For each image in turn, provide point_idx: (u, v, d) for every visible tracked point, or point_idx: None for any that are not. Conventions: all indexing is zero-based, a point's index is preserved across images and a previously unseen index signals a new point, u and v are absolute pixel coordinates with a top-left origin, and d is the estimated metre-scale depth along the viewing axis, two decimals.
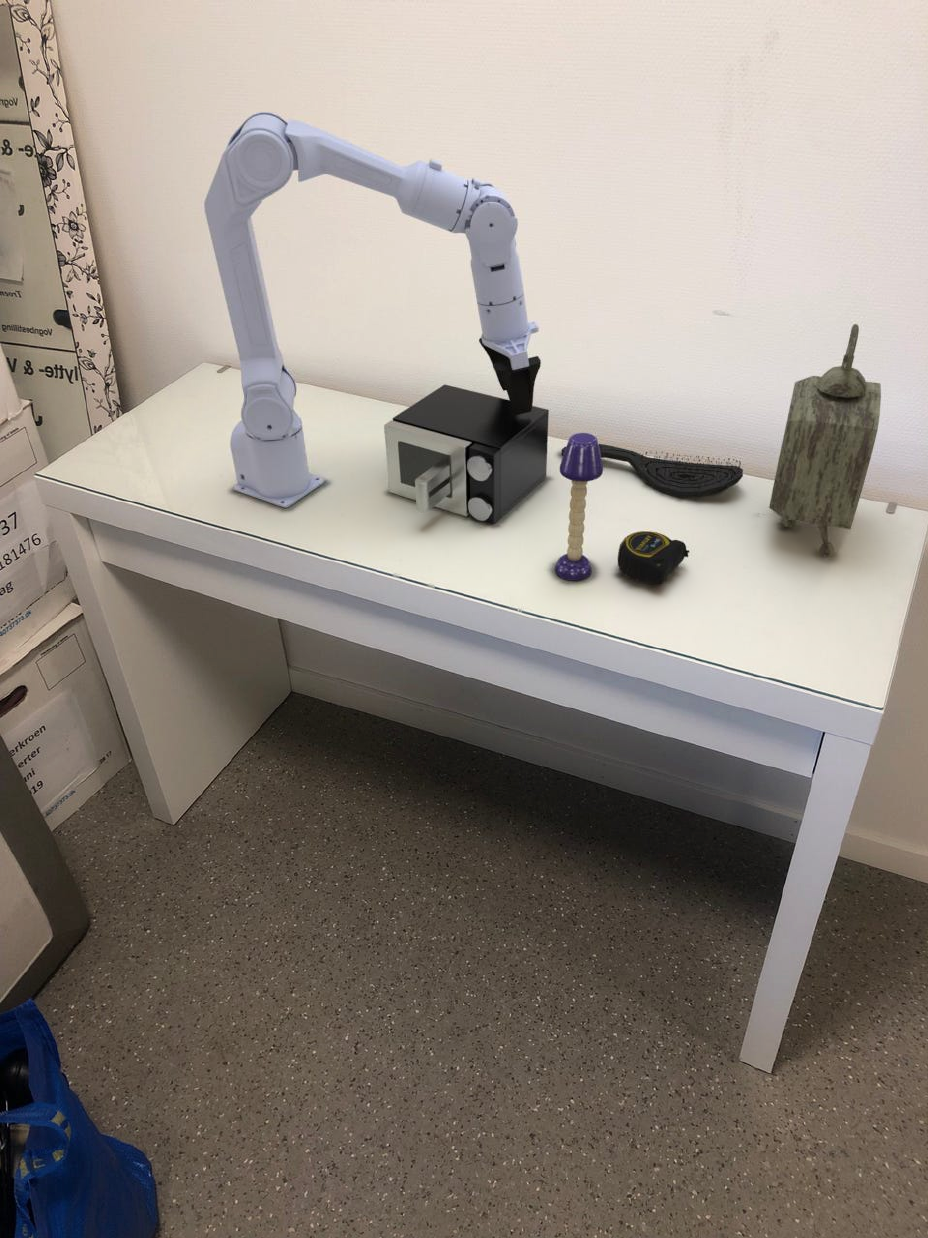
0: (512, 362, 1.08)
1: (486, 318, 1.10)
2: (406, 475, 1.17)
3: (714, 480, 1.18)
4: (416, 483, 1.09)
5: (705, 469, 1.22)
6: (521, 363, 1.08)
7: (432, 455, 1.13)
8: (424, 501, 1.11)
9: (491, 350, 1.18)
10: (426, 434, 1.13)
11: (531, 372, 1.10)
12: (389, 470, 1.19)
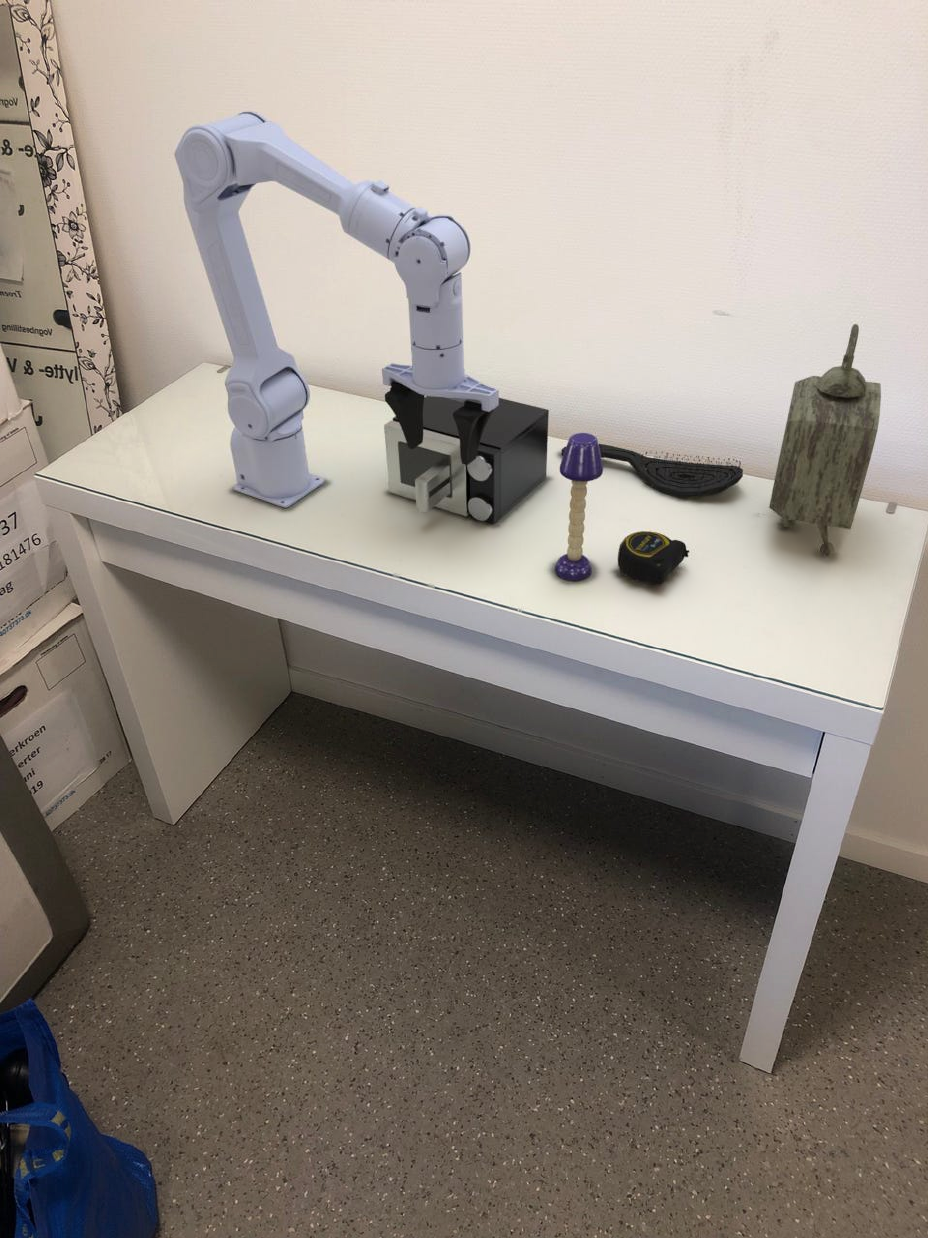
0: (489, 403, 0.99)
1: (438, 364, 0.98)
2: (406, 475, 1.17)
3: (714, 480, 1.18)
4: (416, 483, 1.09)
5: (705, 469, 1.22)
6: (494, 403, 1.00)
7: (432, 455, 1.13)
8: (424, 501, 1.11)
9: (405, 405, 1.05)
10: (426, 434, 1.13)
11: (488, 413, 1.03)
12: (389, 470, 1.19)
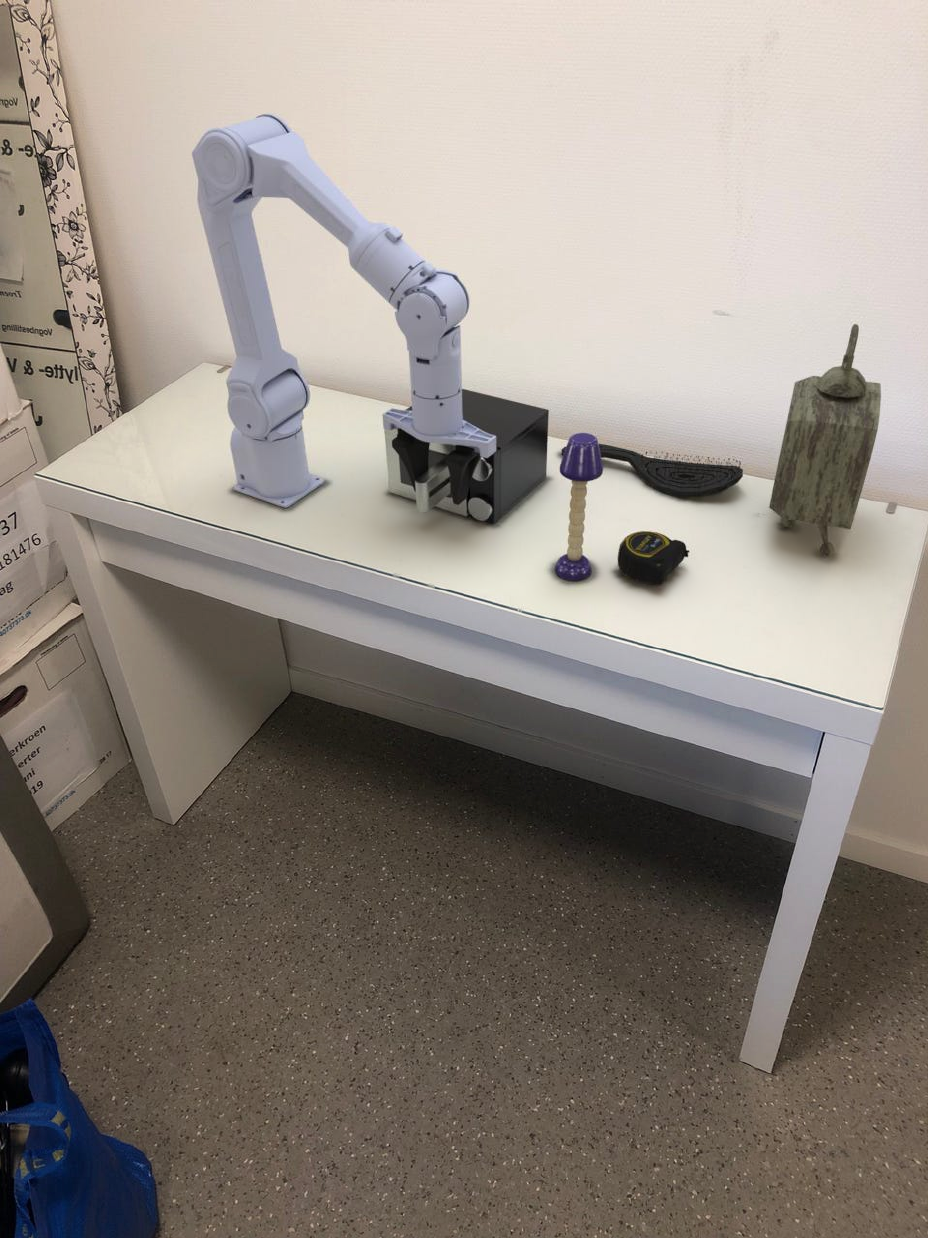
0: (487, 450, 1.02)
1: (438, 413, 1.01)
2: (406, 475, 1.17)
3: (714, 480, 1.18)
4: (416, 483, 1.09)
5: (705, 469, 1.22)
6: (492, 449, 1.03)
7: (432, 455, 1.13)
8: (424, 501, 1.11)
9: (411, 451, 1.07)
10: None
11: (479, 456, 1.06)
12: (389, 470, 1.19)
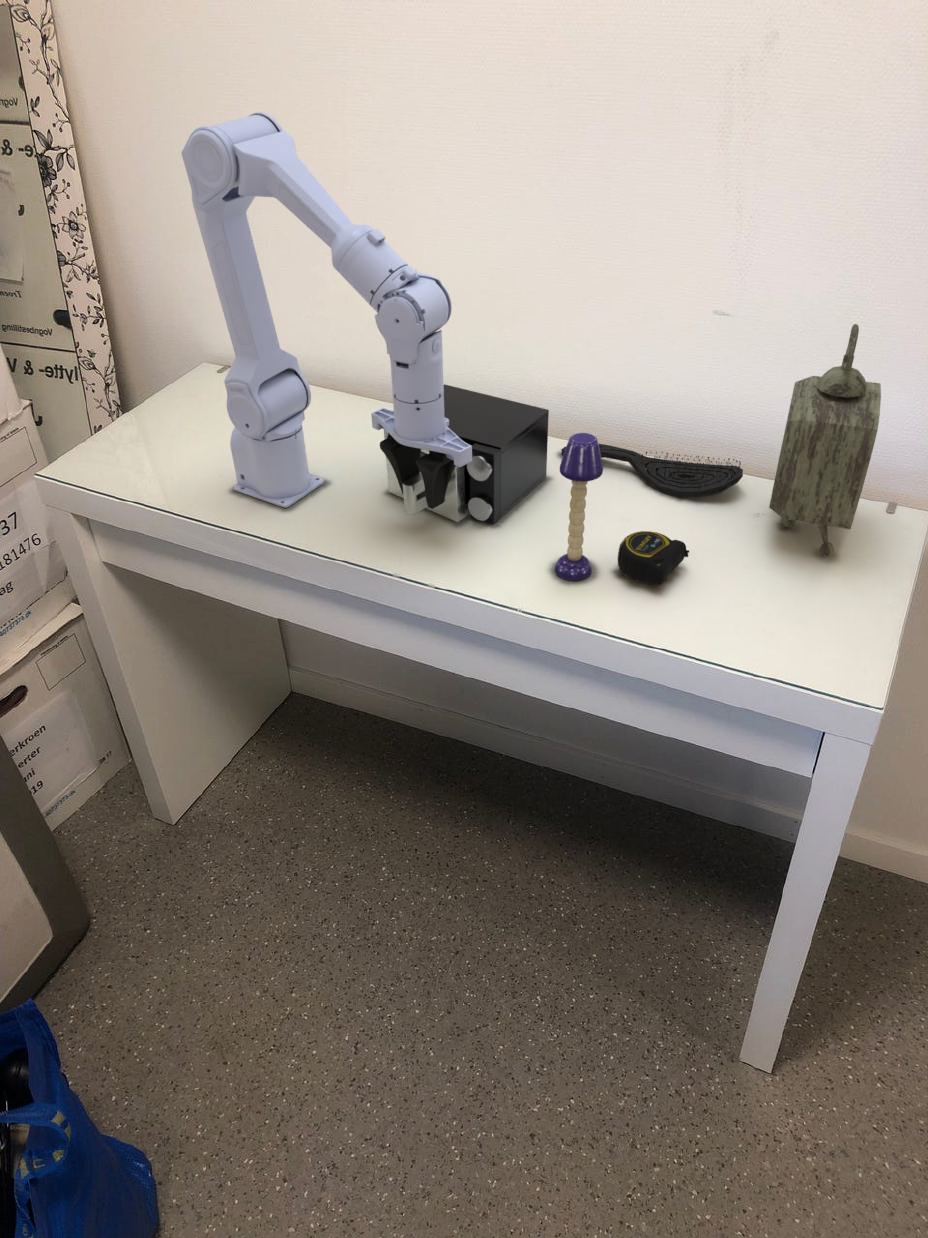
0: (460, 459, 1.01)
1: (414, 417, 1.01)
2: None
3: (714, 480, 1.18)
4: (403, 485, 1.09)
5: (705, 469, 1.22)
6: (466, 459, 1.02)
7: None
8: (411, 504, 1.10)
9: (398, 455, 1.07)
10: None
11: (454, 462, 1.06)
12: (388, 470, 1.19)
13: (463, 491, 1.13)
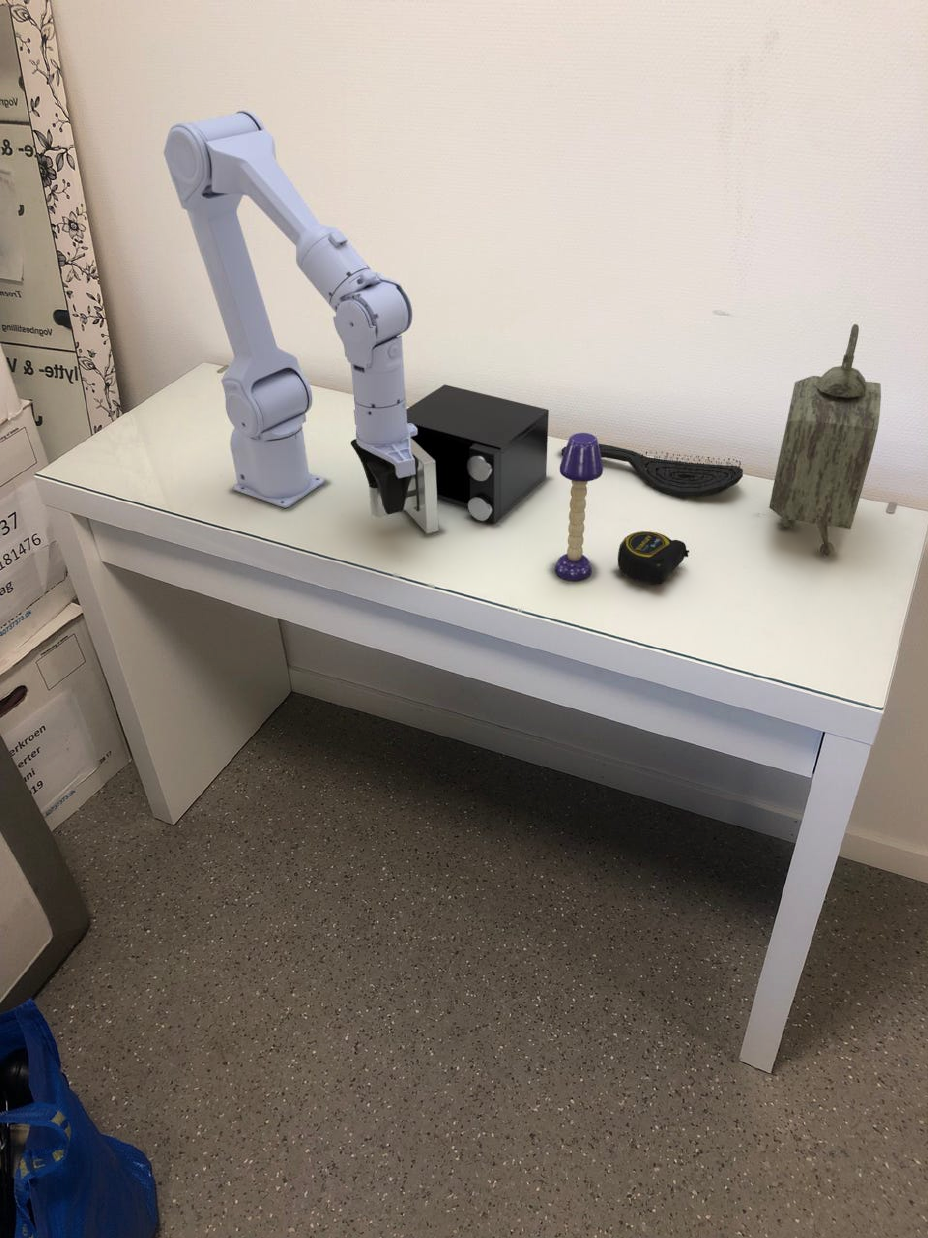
0: (398, 470, 0.99)
1: (366, 420, 1.00)
2: None
3: (714, 480, 1.18)
4: (369, 486, 1.09)
5: (705, 469, 1.22)
6: (408, 471, 1.00)
7: None
8: (375, 507, 1.10)
9: (365, 455, 1.07)
10: None
11: None
12: None
13: (435, 504, 1.11)
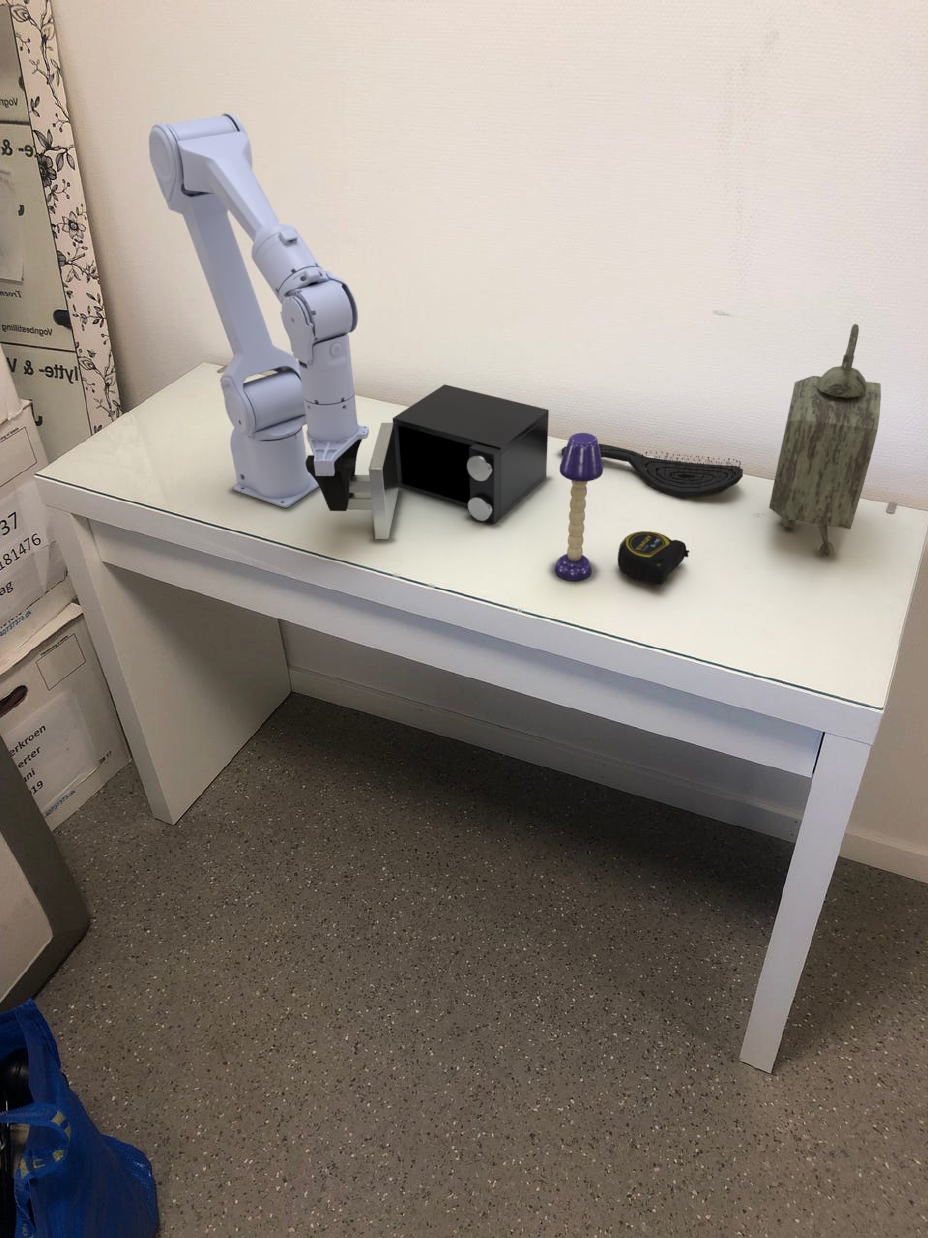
0: (315, 468, 1.00)
1: (307, 414, 1.02)
2: None
3: (714, 480, 1.18)
4: None
5: (705, 469, 1.22)
6: (325, 471, 1.00)
7: None
8: None
9: None
10: (378, 445, 1.11)
11: (343, 474, 1.04)
12: None
13: (383, 512, 1.10)
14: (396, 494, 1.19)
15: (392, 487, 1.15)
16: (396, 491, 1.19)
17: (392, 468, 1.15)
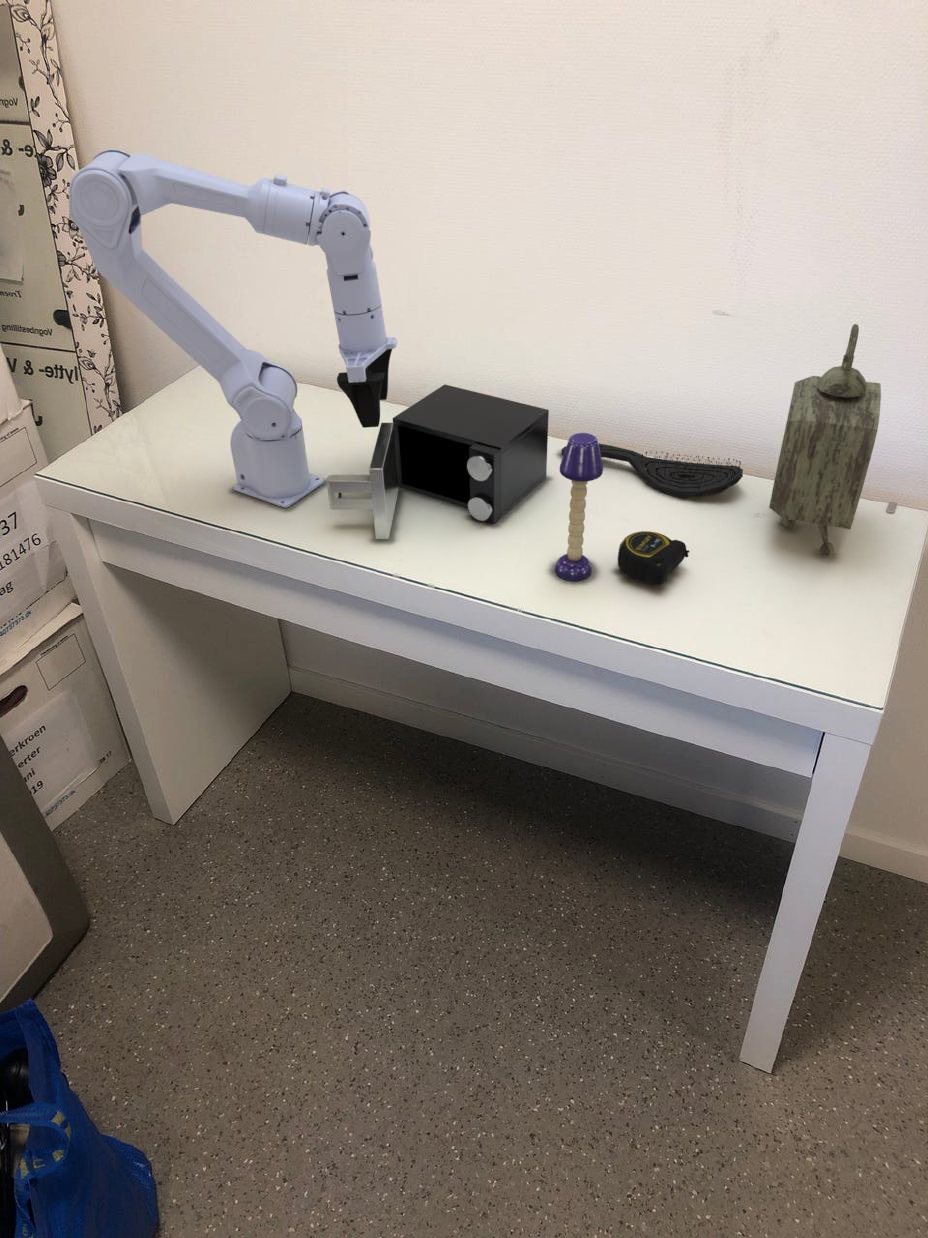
0: (348, 374, 1.06)
1: (338, 326, 1.09)
2: None
3: (714, 480, 1.18)
4: (327, 478, 1.11)
5: (705, 469, 1.22)
6: (357, 377, 1.06)
7: None
8: (330, 498, 1.12)
9: None
10: (378, 445, 1.11)
11: (373, 388, 1.09)
12: None
13: (383, 512, 1.10)
14: (396, 494, 1.19)
15: (392, 487, 1.15)
16: (396, 491, 1.19)
17: (392, 468, 1.15)
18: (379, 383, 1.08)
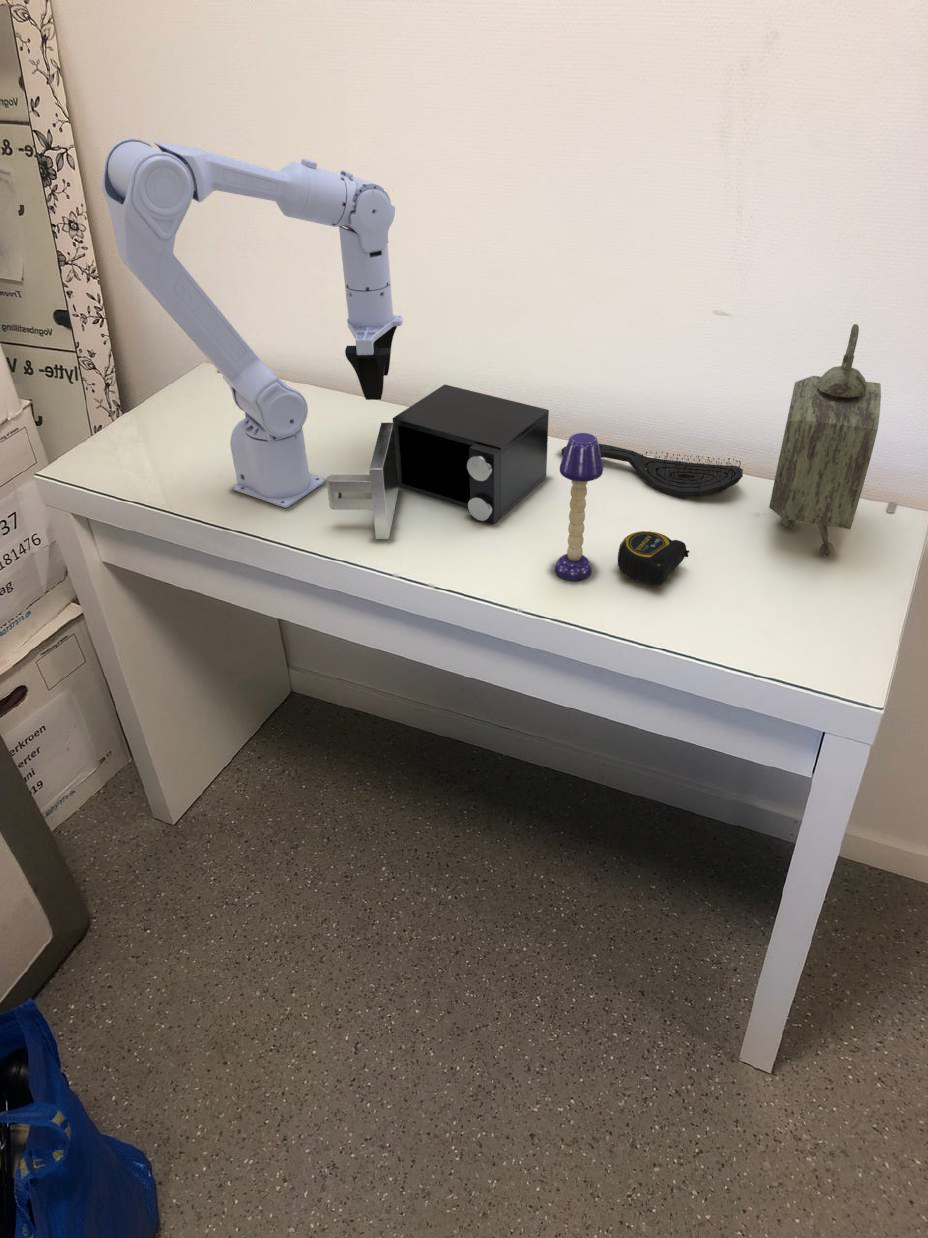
0: (356, 347, 1.12)
1: (349, 301, 1.14)
2: None
3: (714, 480, 1.18)
4: (327, 478, 1.11)
5: (705, 469, 1.22)
6: (365, 350, 1.12)
7: None
8: (330, 498, 1.12)
9: None
10: (378, 445, 1.11)
11: (379, 361, 1.15)
12: None
13: (383, 512, 1.10)
14: (396, 494, 1.19)
15: (392, 487, 1.15)
16: (396, 491, 1.19)
17: (392, 468, 1.15)
18: (385, 357, 1.14)
